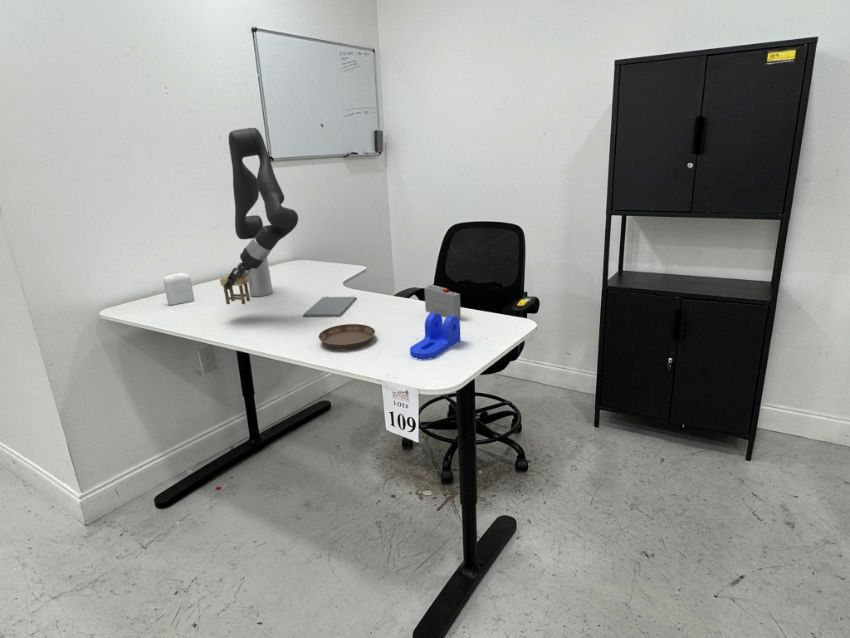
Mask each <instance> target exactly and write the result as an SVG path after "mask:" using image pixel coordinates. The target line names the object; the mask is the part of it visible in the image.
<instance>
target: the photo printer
mask: <svg viewBox="0 0 850 638" xmlns="http://www.w3.org/2000/svg"><path fill="white" fill-rule="evenodd" d="M163 286H164V290H165V294H166V301H167V305H168V306H174V305H178V304H185V302H186V303H190V302H195V297H194V290H193V285H192V281H191V277H190V274H188V273H180V272H179V273H174V274H173V273H172V274H170V275H167V276H165V277H163Z"/></svg>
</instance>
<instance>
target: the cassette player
mask: <svg viewBox="0 0 850 638" xmlns="http://www.w3.org/2000/svg"><path fill="white" fill-rule="evenodd" d="M424 303H425V305H424V306H425V312H427V313H428V314H430V313H437V314H440V315H441V317H442V318H445V317H447V316H449V315H450V316H456V317H458V318H459V320H461V317H462V316H461V315H462V314H461V293H457V292H454V291H450V289H449V288H446V287H442V286H438V285H434V284H428V285H427V286H426V287H424Z"/></svg>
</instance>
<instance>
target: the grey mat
mask: <svg viewBox="0 0 850 638" xmlns="http://www.w3.org/2000/svg"><path fill="white" fill-rule="evenodd" d="M356 300H357V296H323V297H321V298H320V299H319V300H318V301H316V302H315V303H314V304H313V305H312V306H311V307H310V308H309V309H308V310H306V311H305V312H304V313H303V314H302V317H303V318H341V317H340V316H342V315H343V314H345V312H346V311H347V310H348V309H349V308H350V307H351V306H352V305H353V304H354V303H355V301H356ZM353 302H354V303H353ZM352 303H353V304H352ZM351 304H352V305H351ZM350 305H351V306H350ZM349 306H350V307H349ZM348 307H349V308H348ZM333 316H335V317H333ZM338 316H339V317H338Z"/></svg>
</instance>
